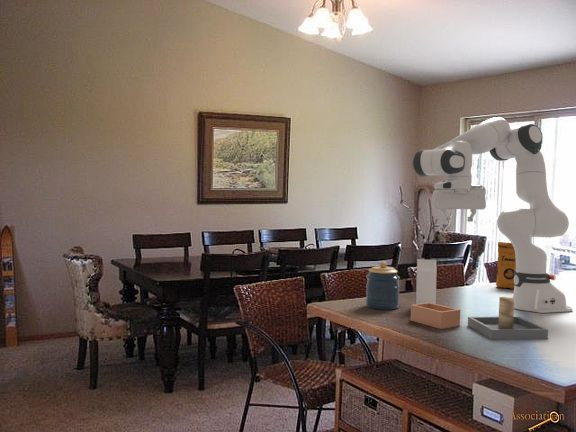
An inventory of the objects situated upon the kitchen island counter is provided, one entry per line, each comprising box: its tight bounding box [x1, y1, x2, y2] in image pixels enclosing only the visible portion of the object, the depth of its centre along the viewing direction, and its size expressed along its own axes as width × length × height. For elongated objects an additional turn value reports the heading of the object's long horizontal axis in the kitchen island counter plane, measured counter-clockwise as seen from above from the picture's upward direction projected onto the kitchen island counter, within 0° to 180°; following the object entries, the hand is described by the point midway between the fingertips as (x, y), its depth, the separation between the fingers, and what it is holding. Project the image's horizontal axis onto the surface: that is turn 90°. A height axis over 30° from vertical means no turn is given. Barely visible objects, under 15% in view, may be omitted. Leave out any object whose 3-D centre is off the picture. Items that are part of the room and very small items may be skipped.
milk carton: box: [415, 258, 438, 304], centre depth 217 cm, size 7×7×19 cm
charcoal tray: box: [467, 316, 549, 341], centre depth 182 cm, size 18×18×3 cm
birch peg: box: [498, 296, 515, 329], centre depth 182 cm, size 4×4×10 cm
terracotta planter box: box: [410, 303, 461, 330], centre depth 193 cm, size 9×14×6 cm, turn 32°
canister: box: [365, 261, 401, 311], centre depth 220 cm, size 13×13×18 cm
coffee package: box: [495, 241, 516, 290], centre depth 268 cm, size 10×12×22 cm
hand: (458, 221), depth 212 cm, fingers open, 8 cm apart
